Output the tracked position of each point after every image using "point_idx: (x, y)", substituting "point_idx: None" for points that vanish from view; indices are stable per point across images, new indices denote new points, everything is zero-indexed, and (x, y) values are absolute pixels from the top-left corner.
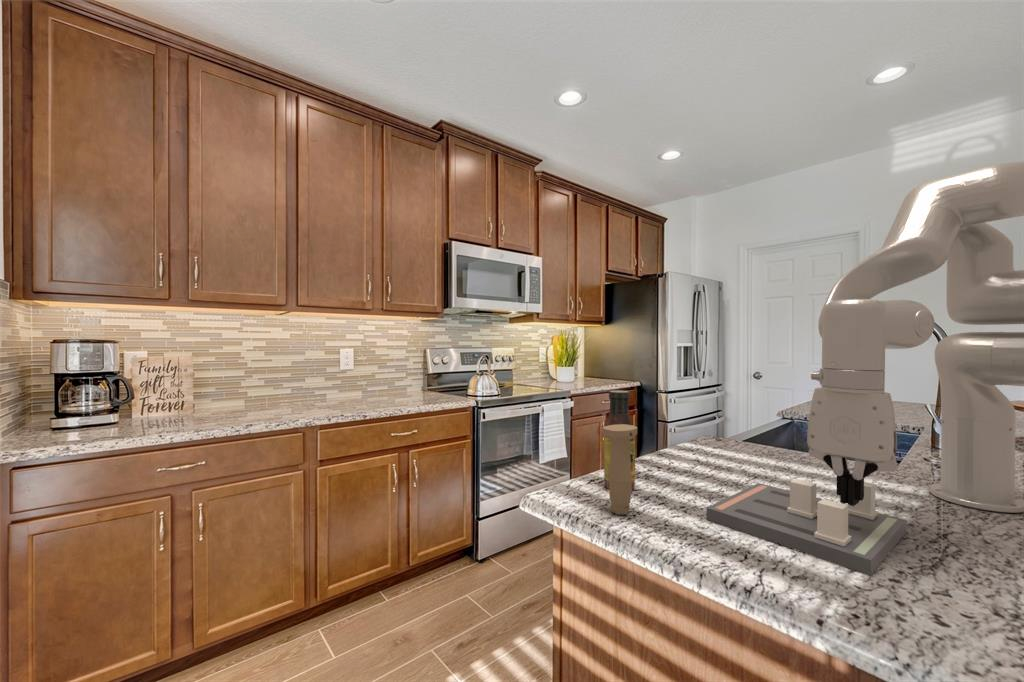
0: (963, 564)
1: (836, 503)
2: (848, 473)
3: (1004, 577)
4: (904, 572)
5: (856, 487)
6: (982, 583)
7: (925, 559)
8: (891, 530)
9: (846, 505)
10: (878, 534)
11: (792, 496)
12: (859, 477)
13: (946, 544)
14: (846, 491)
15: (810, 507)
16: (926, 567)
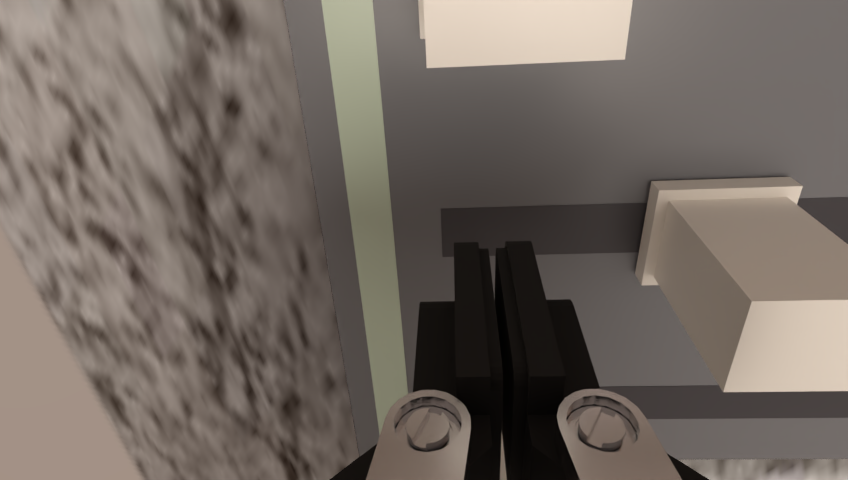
0: (160, 295)
1: (506, 23)
2: (527, 475)
3: (59, 288)
4: (221, 32)
5: (445, 356)
6: (55, 181)
7: (239, 240)
8: (353, 324)
9: (430, 38)
10: (369, 238)
11: (820, 235)
12: (411, 413)
13: (259, 412)
14: (502, 297)
15: (686, 217)
16: (204, 166)
